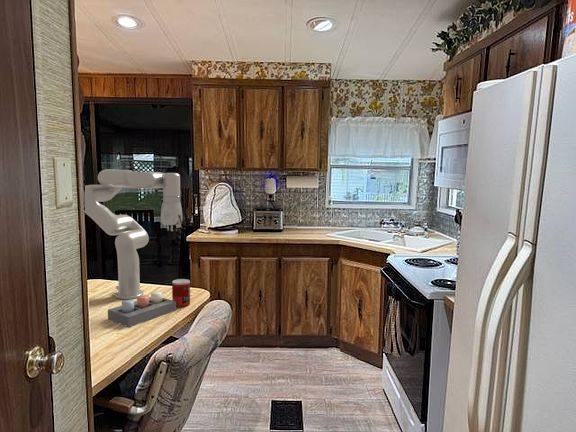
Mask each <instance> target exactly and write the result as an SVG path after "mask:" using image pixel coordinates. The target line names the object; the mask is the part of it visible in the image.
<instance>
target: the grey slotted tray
mask: <svg viewBox="0 0 576 432" xmlns="http://www.w3.org/2000/svg"><path fill="white" fill-rule="evenodd" d="M176 311H177V307H176V301H172V299H169V298H165V297H162V302H161V303H158V304H153V303H151V296H149V307H146V308H143V309H140V308H137V300H134V311H133V312H130V313H127V314H125V313H122V305H119V306H115V307H112V308H109V309H107V320H109V321H112V322H114V323H116V324H119V325H122V326H124V327H127V328H130V327H133V326H136V325H139V324H142V323H145V322H147V321H150V320H154V319H156V318H158V317H161V316H164V315H167V314H170V313H172V312H176Z"/></svg>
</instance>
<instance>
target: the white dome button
mask: <svg viewBox="0 0 576 432" xmlns="http://www.w3.org/2000/svg"><path fill="white" fill-rule="evenodd" d="M150 297H151V303H153V304H158V303H161V302H162V298H163V291H160V290H159V291H158V290H157V291H152V292H150Z"/></svg>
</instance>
